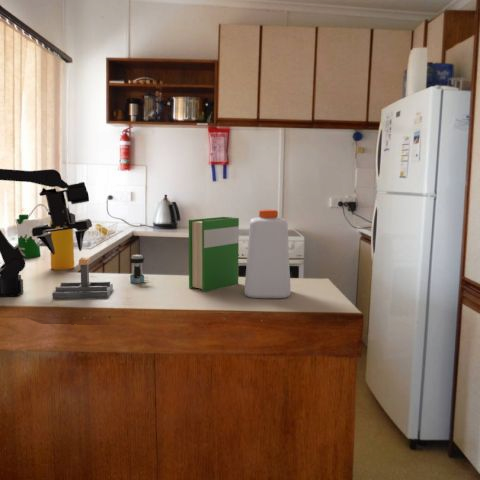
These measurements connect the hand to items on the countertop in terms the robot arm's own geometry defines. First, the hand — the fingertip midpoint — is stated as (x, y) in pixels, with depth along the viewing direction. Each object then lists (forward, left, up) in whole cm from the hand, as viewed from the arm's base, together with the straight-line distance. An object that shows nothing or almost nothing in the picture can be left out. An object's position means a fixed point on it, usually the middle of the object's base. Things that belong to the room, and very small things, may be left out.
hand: (67, 252), depth 170 cm
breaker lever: (+7, -7, -11) cm, 14 cm away
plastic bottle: (+67, -11, -13) cm, 69 cm away
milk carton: (-33, +70, -13) cm, 79 cm away
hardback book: (+50, +2, -13) cm, 52 cm away
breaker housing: (+6, -7, -13) cm, 16 cm away
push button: (+23, +10, -13) cm, 28 cm away
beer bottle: (-11, +40, -13) cm, 44 cm away
